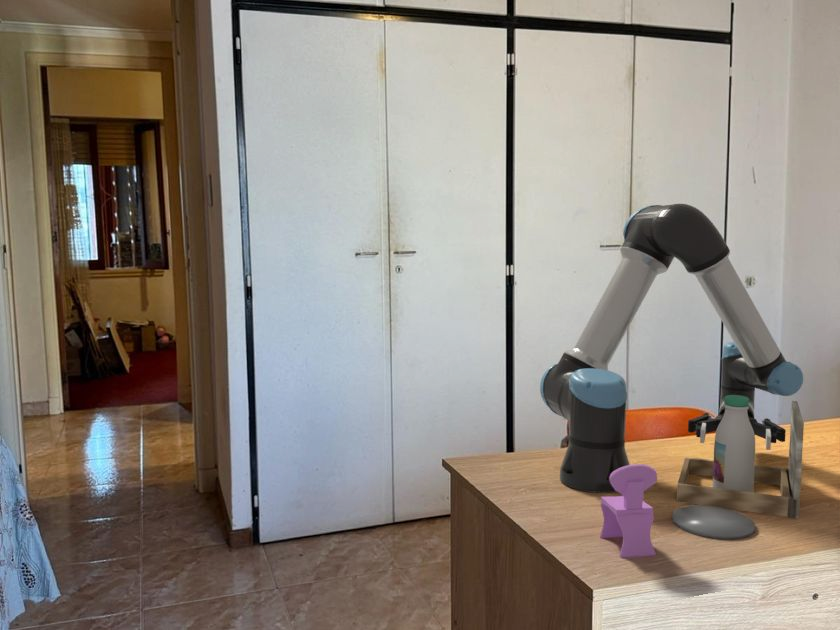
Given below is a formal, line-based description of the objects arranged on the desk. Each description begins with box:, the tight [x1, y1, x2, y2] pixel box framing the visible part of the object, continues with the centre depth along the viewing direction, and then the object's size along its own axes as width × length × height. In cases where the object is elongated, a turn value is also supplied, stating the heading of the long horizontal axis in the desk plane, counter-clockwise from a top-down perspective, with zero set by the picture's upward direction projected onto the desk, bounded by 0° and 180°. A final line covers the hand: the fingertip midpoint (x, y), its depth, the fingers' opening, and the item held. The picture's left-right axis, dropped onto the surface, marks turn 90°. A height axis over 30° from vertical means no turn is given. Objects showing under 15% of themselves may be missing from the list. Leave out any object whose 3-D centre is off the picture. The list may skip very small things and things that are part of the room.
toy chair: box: [599, 463, 658, 558], centre depth 124 cm, size 8×9×15 cm
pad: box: [671, 504, 756, 540], centre depth 134 cm, size 14×14×1 cm
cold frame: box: [676, 400, 805, 519], centre depth 149 cm, size 22×20×18 cm
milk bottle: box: [712, 395, 756, 493], centre depth 149 cm, size 8×8×20 cm
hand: (734, 439), depth 149 cm, fingers open, 12 cm apart
